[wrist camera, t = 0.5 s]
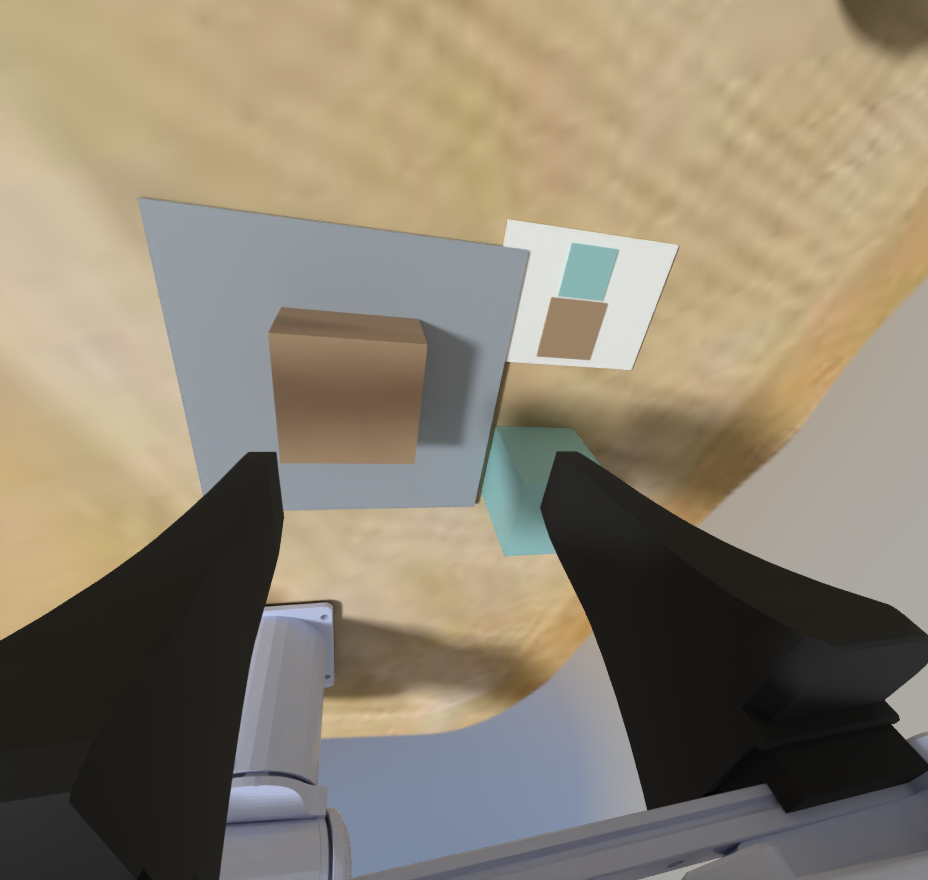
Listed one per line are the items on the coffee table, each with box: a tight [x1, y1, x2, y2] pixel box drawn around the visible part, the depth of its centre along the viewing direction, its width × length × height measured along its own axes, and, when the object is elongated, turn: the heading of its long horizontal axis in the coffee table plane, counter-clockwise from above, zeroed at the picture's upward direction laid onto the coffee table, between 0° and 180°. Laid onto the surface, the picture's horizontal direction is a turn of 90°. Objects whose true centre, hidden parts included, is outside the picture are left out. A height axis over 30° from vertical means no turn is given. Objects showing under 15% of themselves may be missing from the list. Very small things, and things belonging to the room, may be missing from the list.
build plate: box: [138, 197, 528, 510], centre depth 20 cm, size 14×14×1 cm
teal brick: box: [481, 426, 602, 556], centre depth 23 cm, size 4×4×5 cm
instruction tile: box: [503, 219, 679, 370], centre depth 20 cm, size 6×8×1 cm
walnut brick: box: [268, 307, 428, 464], centre depth 18 cm, size 6×6×3 cm
